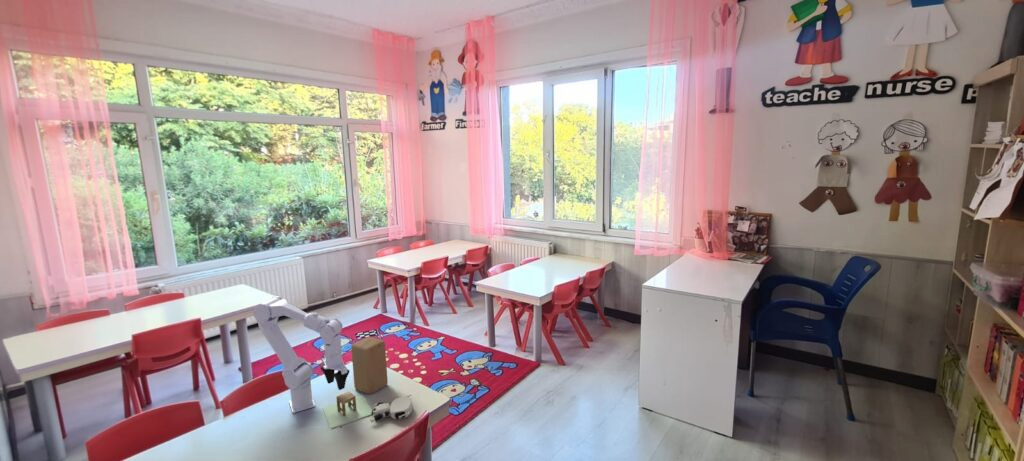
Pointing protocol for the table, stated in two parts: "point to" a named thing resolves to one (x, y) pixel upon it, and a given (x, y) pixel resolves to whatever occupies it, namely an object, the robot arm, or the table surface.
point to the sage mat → (347, 412)
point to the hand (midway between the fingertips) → (336, 385)
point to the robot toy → (392, 409)
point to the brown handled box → (344, 399)
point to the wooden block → (369, 365)
